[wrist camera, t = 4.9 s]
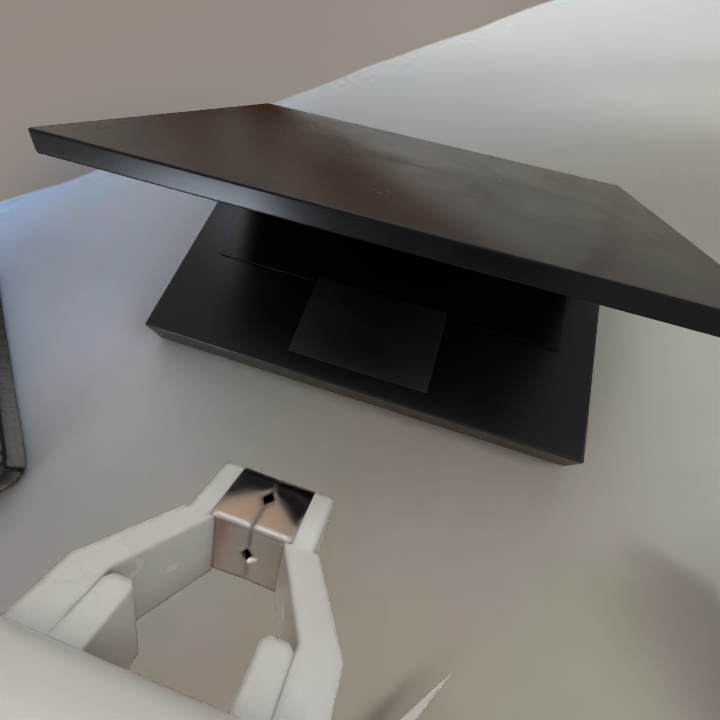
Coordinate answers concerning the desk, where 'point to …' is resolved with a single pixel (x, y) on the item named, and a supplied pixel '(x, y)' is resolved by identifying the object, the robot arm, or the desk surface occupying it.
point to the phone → (8, 419)
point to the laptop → (389, 330)
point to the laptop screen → (414, 201)
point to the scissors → (422, 703)
